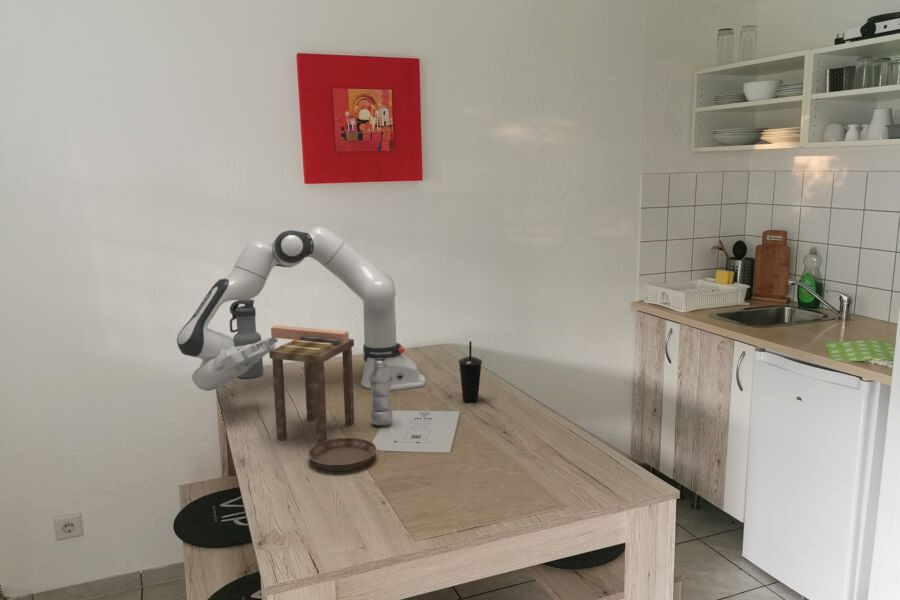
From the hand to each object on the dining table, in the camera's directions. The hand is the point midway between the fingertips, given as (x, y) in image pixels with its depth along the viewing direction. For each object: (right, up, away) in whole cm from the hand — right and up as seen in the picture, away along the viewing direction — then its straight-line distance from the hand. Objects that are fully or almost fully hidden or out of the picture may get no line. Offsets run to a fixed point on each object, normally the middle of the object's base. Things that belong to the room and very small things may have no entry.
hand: (266, 342), depth 211 cm
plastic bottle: (+35, -24, -1) cm, 42 cm away
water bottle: (-19, -15, +47) cm, 53 cm away
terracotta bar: (+14, +1, -6) cm, 15 cm away
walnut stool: (+16, -25, -6) cm, 31 cm away
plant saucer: (+27, -30, -25) cm, 47 cm away
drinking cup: (+61, -20, +18) cm, 67 cm away
